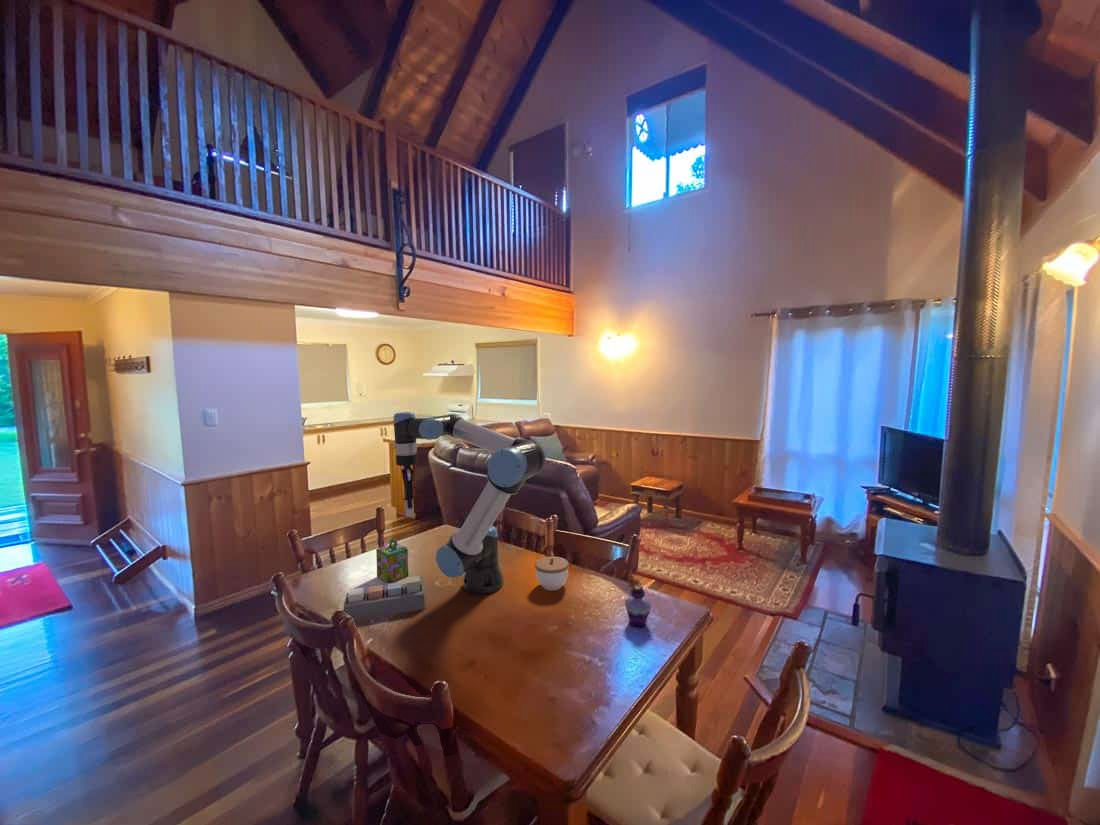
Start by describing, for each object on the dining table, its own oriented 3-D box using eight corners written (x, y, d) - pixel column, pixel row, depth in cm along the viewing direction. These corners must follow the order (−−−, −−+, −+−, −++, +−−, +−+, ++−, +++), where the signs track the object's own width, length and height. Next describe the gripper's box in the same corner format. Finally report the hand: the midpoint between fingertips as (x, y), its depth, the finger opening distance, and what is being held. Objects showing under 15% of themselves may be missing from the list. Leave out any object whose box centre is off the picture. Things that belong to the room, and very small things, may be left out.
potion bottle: (641, 613, 152) (641, 579, 151) (656, 627, 144) (657, 590, 143) (619, 619, 149) (619, 583, 148) (633, 633, 141) (633, 595, 140)
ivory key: (364, 602, 158) (363, 587, 157) (363, 608, 153) (362, 593, 153) (350, 604, 156) (349, 589, 156) (349, 611, 152) (348, 595, 152)
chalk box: (376, 577, 183) (374, 541, 181) (397, 569, 189) (395, 534, 188) (388, 584, 176) (386, 546, 175) (409, 575, 183) (408, 540, 182)
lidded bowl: (569, 579, 178) (569, 551, 177) (567, 594, 166) (567, 565, 165) (537, 578, 179) (537, 551, 178) (533, 593, 167) (532, 564, 166)
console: (423, 595, 167) (422, 581, 166) (424, 609, 157) (424, 593, 157) (347, 608, 159) (346, 592, 158) (344, 622, 149) (343, 606, 149)
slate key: (401, 596, 161) (401, 581, 161) (401, 602, 157) (401, 587, 157) (388, 598, 160) (387, 583, 160) (388, 604, 156) (387, 589, 155)
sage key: (419, 590, 163) (419, 575, 163) (420, 595, 159) (419, 581, 159) (407, 592, 162) (406, 577, 161) (407, 598, 158) (406, 583, 157)
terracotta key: (383, 599, 160) (382, 584, 159) (382, 605, 155) (382, 590, 155) (369, 601, 158) (368, 586, 158) (368, 608, 154) (368, 592, 153)
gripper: (394, 452, 174) (398, 512, 176) (397, 457, 162) (401, 522, 164) (414, 450, 177) (418, 510, 179) (418, 455, 165) (422, 519, 167)
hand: (410, 515), depth 171 cm, fingers closed
